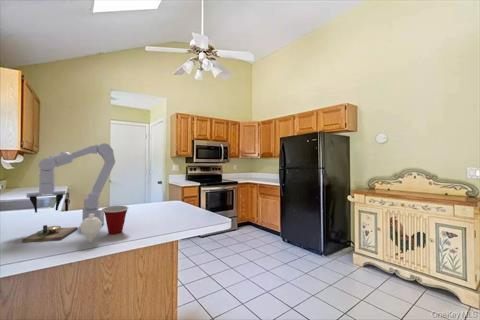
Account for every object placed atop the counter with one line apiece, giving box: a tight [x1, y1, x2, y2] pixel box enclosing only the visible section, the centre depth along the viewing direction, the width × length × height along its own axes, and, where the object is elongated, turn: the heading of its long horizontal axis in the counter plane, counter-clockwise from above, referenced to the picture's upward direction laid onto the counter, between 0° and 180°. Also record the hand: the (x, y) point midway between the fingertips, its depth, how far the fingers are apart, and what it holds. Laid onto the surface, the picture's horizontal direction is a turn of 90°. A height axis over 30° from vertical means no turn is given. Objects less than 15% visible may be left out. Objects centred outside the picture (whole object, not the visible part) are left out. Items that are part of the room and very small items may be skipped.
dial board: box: [21, 226, 79, 243], centre depth 106 cm, size 14×16×3 cm
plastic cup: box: [102, 205, 129, 235], centre depth 111 cm, size 11×11×12 cm
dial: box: [42, 224, 62, 233], centre depth 104 cm, size 10×6×3 cm, turn 14°
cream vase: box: [79, 214, 103, 243], centre depth 97 cm, size 8×8×12 cm
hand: (46, 211), depth 112 cm, fingers open, 7 cm apart
